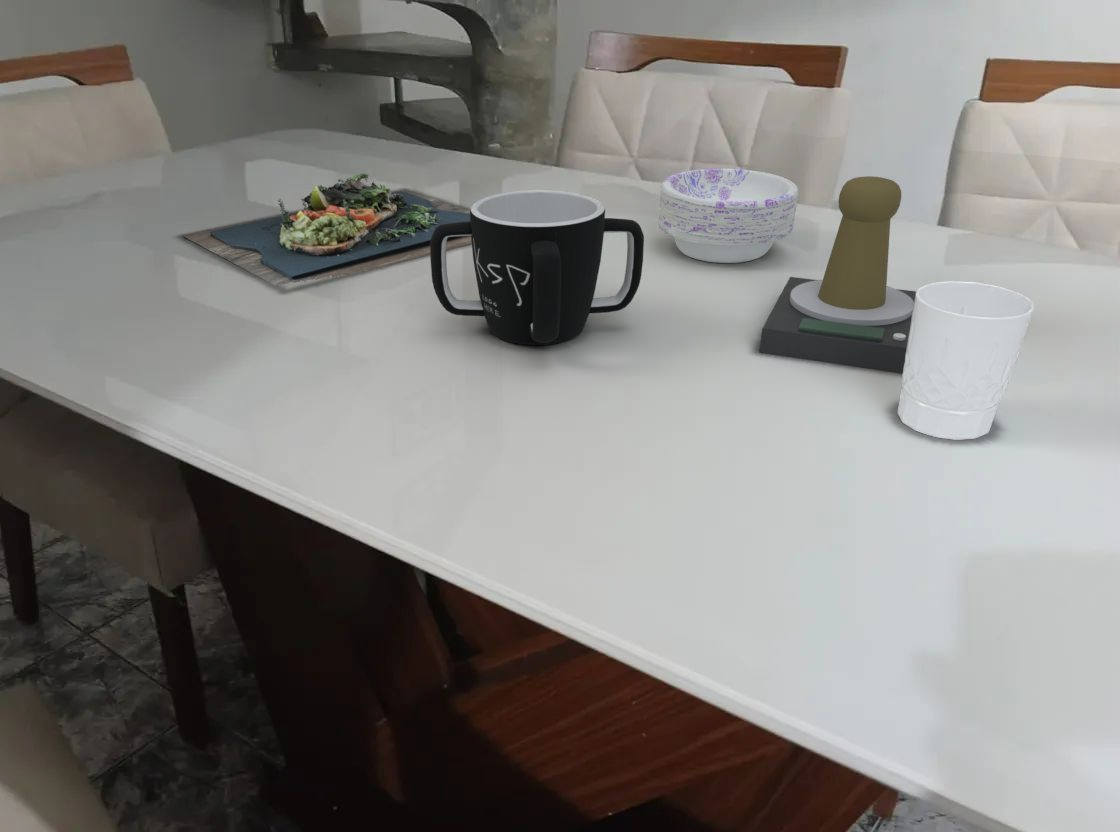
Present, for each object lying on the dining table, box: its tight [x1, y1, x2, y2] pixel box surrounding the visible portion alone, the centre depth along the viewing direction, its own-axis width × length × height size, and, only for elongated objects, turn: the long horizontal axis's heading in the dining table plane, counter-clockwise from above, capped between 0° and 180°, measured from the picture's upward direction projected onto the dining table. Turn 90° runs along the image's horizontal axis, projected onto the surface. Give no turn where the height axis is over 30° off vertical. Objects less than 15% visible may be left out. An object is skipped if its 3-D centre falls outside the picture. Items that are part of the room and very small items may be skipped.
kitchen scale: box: [758, 276, 917, 375], centre depth 90 cm, size 15×13×3 cm
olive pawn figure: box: [818, 176, 902, 310], centre depth 88 cm, size 6×6×11 cm
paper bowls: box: [658, 167, 800, 264], centre depth 111 cm, size 15×15×8 cm
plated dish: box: [181, 172, 472, 287], centre depth 121 cm, size 35×28×7 cm
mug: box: [429, 189, 645, 346], centre depth 90 cm, size 16×16×12 cm
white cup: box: [897, 280, 1035, 441], centre depth 73 cm, size 8×8×10 cm
